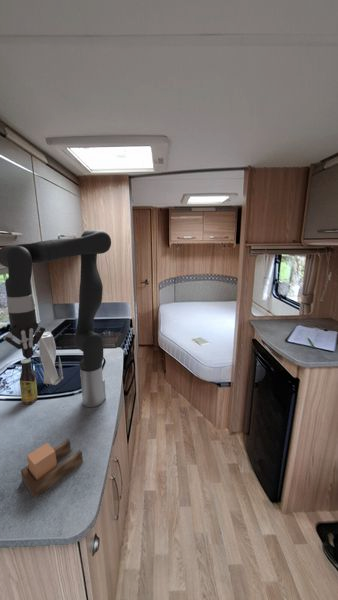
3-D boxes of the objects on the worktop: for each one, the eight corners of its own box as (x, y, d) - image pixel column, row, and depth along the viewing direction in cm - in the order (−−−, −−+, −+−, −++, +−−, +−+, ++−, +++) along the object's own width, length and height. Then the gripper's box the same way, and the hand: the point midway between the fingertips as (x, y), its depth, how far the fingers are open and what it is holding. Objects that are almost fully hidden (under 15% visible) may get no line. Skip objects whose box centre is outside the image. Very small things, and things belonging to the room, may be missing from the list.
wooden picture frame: (69, 448, 86) (68, 439, 85) (82, 461, 81) (81, 451, 80) (22, 480, 74) (20, 470, 74) (35, 498, 69) (33, 487, 68)
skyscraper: (54, 387, 122) (48, 334, 115) (39, 385, 123) (32, 333, 117) (64, 378, 130) (59, 328, 123) (50, 376, 131) (44, 327, 125)
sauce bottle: (18, 404, 109) (12, 363, 104) (29, 395, 115) (23, 356, 110) (31, 406, 108) (26, 365, 103) (41, 397, 114) (36, 358, 109)
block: (50, 465, 79) (47, 442, 77) (58, 474, 76) (55, 451, 74) (30, 479, 75) (26, 455, 72) (38, 489, 72) (34, 464, 69)
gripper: (37, 302, 87) (42, 348, 91) (-7, 310, 77) (2, 361, 81) (47, 306, 82) (52, 354, 86) (2, 315, 72) (11, 368, 76)
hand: (28, 357), depth 84 cm, fingers closed
